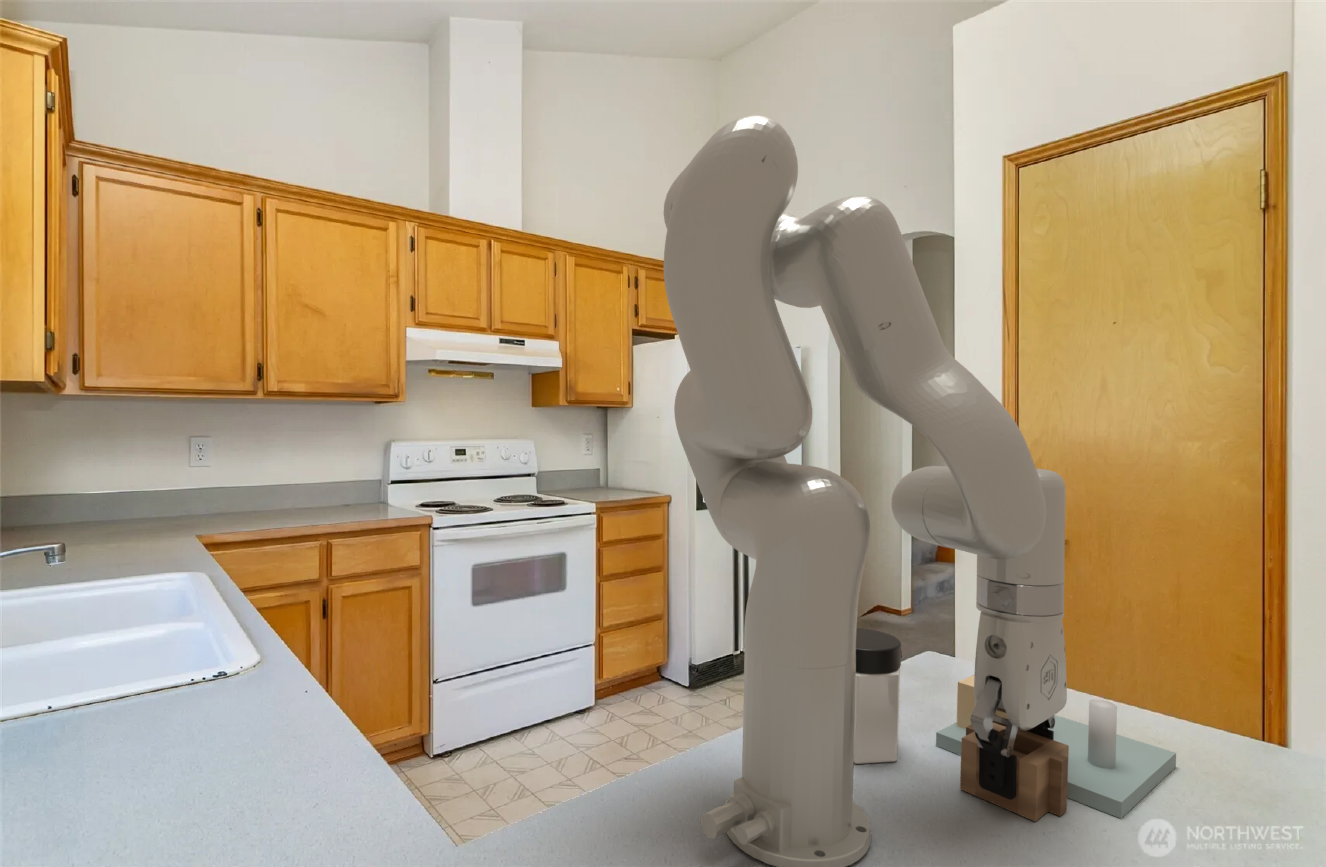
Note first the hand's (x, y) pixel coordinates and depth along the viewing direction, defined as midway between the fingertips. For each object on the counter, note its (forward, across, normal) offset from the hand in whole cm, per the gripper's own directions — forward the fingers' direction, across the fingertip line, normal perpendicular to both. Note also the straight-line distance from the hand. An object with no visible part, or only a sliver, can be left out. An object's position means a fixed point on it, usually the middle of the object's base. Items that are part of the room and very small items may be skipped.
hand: (1016, 777), depth 67 cm
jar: (+2, -4, +15) cm, 16 cm away
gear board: (+2, +11, +1) cm, 11 cm away
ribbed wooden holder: (+2, 0, 0) cm, 2 cm away
